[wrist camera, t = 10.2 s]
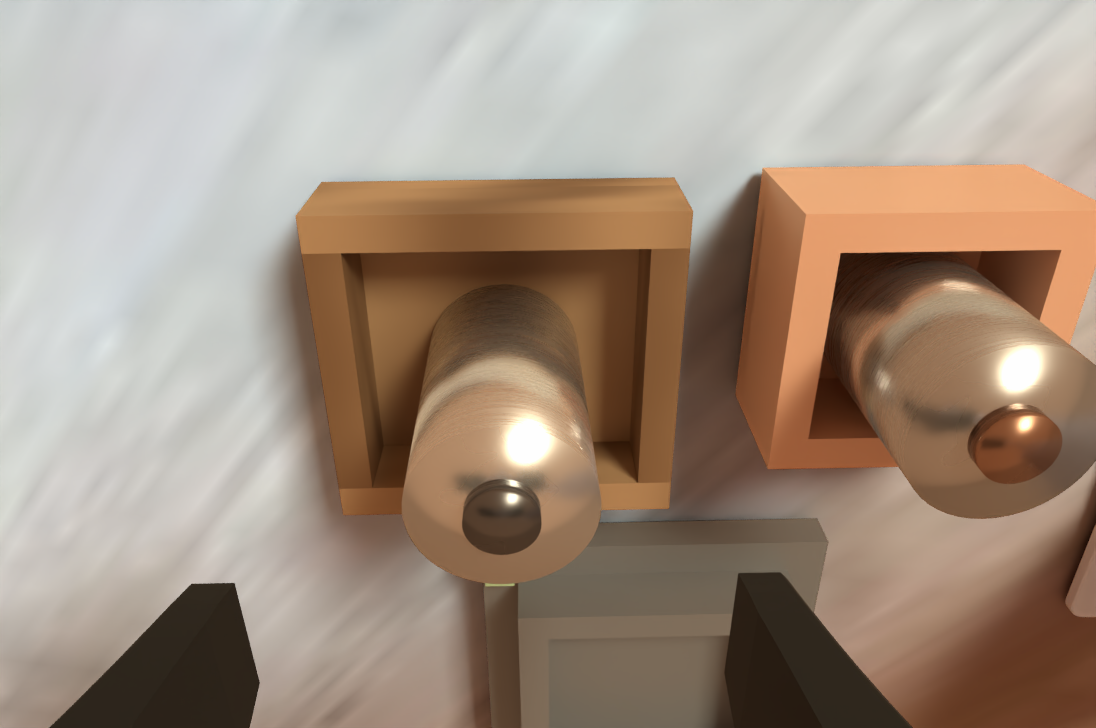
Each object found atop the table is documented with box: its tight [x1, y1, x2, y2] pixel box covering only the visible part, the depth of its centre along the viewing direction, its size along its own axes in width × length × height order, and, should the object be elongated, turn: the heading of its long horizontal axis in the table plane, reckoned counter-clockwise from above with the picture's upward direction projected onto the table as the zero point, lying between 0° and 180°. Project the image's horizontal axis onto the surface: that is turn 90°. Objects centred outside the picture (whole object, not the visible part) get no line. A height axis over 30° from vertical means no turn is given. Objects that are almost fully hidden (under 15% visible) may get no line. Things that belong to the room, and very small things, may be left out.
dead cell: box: [823, 251, 1096, 519], centre depth 17 cm, size 4×4×6 cm
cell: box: [402, 284, 601, 584], centre depth 17 cm, size 4×4×6 cm
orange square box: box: [735, 165, 1096, 469], centre depth 19 cm, size 6×6×3 cm
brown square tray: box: [296, 178, 693, 515], centre depth 19 cm, size 8×8×2 cm
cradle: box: [483, 518, 828, 728], centre depth 25 cm, size 10×10×3 cm
